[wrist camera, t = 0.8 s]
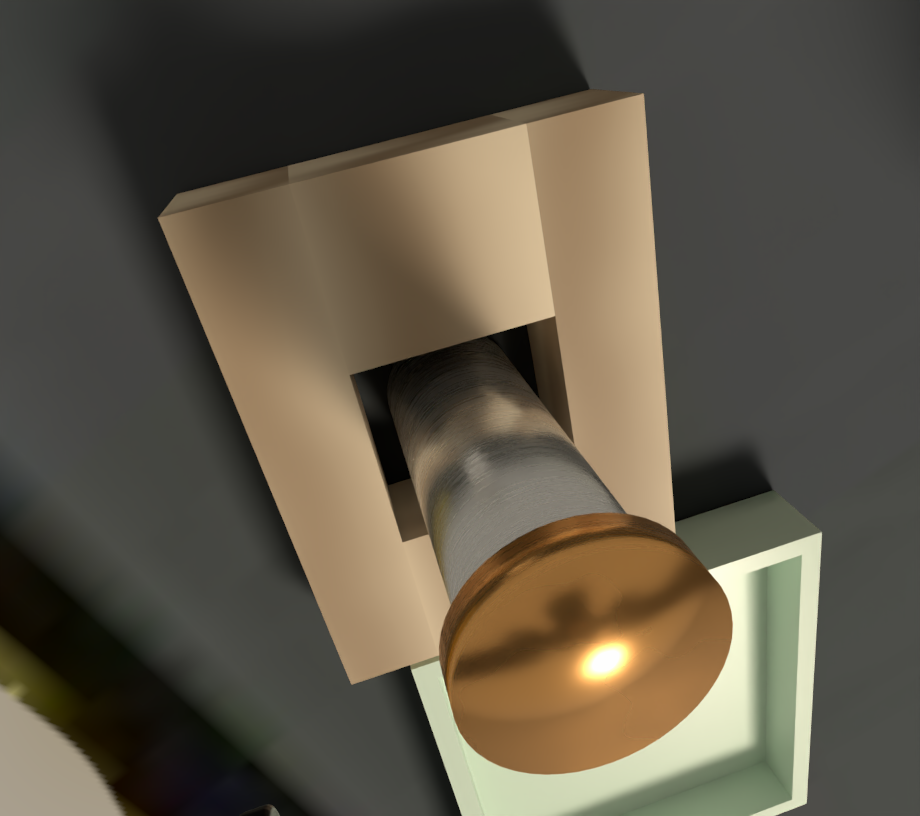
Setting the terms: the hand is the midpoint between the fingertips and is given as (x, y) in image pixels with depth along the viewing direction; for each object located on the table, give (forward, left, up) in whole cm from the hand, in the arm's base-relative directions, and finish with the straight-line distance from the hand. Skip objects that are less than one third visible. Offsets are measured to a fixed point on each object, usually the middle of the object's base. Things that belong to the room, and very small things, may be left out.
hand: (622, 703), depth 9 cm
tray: (-3, +13, -10) cm, 17 cm away
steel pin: (0, 0, -10) cm, 10 cm away
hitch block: (0, 0, -10) cm, 10 cm away
